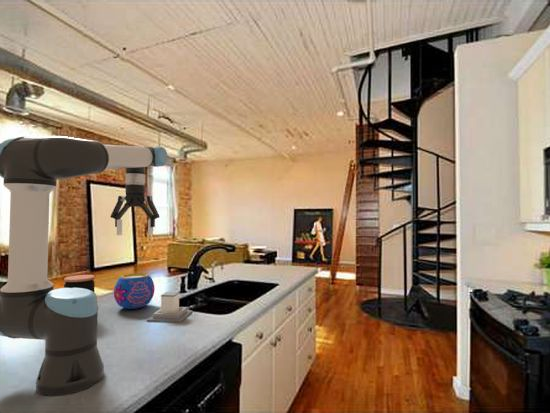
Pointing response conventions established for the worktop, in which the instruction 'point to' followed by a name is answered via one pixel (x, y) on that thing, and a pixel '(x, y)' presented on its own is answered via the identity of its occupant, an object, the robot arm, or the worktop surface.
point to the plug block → (170, 302)
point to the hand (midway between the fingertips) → (134, 235)
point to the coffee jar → (80, 282)
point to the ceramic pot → (134, 290)
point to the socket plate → (170, 316)
